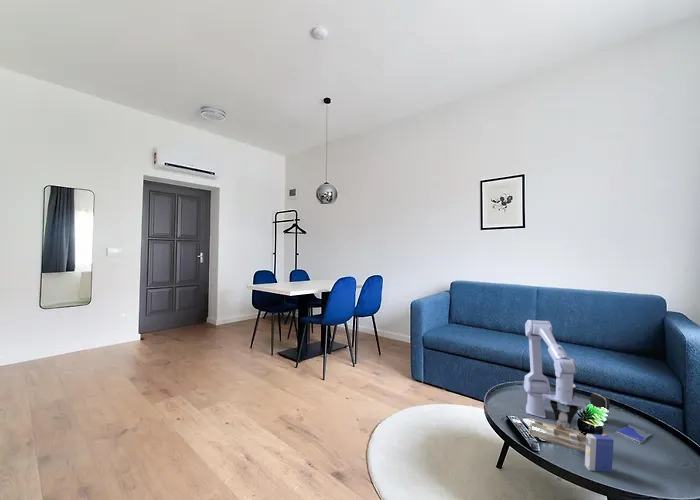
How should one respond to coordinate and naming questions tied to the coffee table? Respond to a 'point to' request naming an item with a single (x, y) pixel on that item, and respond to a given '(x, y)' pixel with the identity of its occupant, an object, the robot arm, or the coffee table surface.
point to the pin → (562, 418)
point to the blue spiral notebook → (630, 433)
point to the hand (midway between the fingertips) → (562, 421)
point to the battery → (599, 401)
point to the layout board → (559, 435)
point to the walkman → (599, 452)
